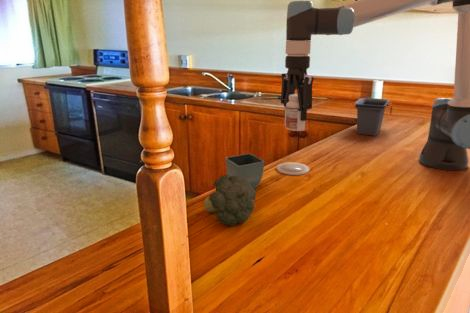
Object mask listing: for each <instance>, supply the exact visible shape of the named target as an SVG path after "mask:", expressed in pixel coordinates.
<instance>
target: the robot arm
mask: <svg viewBox="0 0 470 313" xmlns="http://www.w3.org/2000/svg"><path fill="white" fill-rule="evenodd" d="M451 2H452V10H454V11H455V12H457V14H458V15H457V32H456V49H455V63H454V64H455V65H454V67H455V68H454V84H453V85H454V87H453V97H452V98H451V97H448V98H447V97H438V98H436V99H434V101H433V105H432V107H431V116H430V120H429V121H430V122H429V128H428V135H427V136H428V137H427V140H426V142H425V144H424V146H423V148H422V150H421V152H420V153H419V158H418V161H419V162H420V164H423V165H424V166H427V167H430V168H433V169H438V170H445V171H462V170H463V171H464V170H466V169H467V168H468V165H469V156H468V150H470V0H357V1H353V2H350V3H348V4H345V5H343V6H342V5H341V6H339V7H325V8H323V7H322V8H321V7H320V8H317V7H314V2H313V1H311V0H295V1H290V2H289V3H288V5H287V8H286V10H287V11H286V30H285V31H286V33H285V34H286V36H285V37H286V38H285V40H286V41H285V54H286V56H285V63H284V64H285V68H286V69H287V72H286V73H282V74H281V92H280V93H281V94H280V104H283V107H284V127H285V128H286V104H287V102H289V95H290V94H298V101H299V108H300V109H298V117H297V131H296V132H301V131H306V122H307V116H308V110H312V109H313V84H314V80H315V79H314V76H309V75H308V69H309V68H310V65H311V64H310V62H311V56H310V54H311V43H312V41H311V40H312V36H317V35H321V36H322V35H323V36H325V35H326V36H331V35H332V36H334V35H335V36H336V35H337V36H343V35H344V36H345V35H350V34H352V33H353V29H354V28H356V27H359V26H362V25H365V24H369V23H372V22H375V21H378V20H382V19H384V18H388V17H391V16H395V15H398V14H401V13H404V12H408V11H410V10H414V9H417V8H420V7H423V6H426V5H429V6H431V7H434V6H437V5H442V4H445V3H446V4H447V3H451ZM295 92H296V93H295ZM467 149H468V150H467Z"/></svg>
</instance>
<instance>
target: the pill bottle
mask: <svg viewBox="0 0 470 313" xmlns="http://www.w3.org/2000/svg"><path fill="white" fill-rule="evenodd" d="M298 109H300V108H299V101H298V94H297V93H294V94H290V95H289V102H287V104H286V127H285V129H287V130H289V131H294V132H295V131H296V132H298V131H297V117H298Z"/></svg>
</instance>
